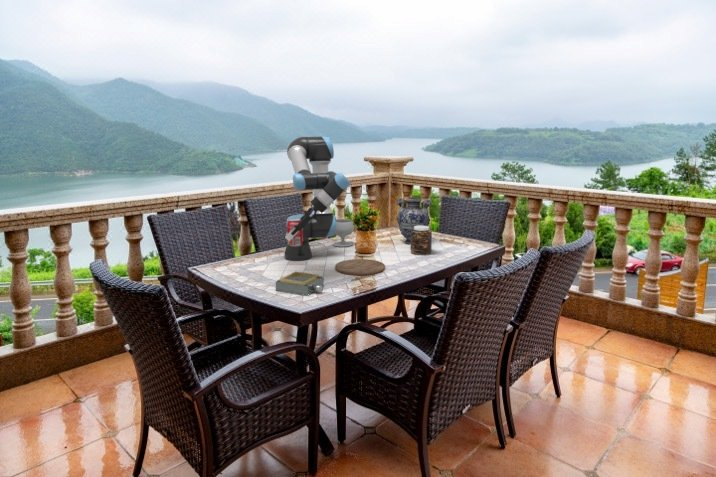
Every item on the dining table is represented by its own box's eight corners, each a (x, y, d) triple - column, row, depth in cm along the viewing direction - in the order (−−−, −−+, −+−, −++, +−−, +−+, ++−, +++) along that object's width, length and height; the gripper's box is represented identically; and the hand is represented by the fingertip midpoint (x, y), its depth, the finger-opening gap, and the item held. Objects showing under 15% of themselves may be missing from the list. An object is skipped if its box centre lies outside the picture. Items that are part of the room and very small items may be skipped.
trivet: (393, 266, 243) (393, 263, 242) (369, 279, 222) (369, 275, 221) (351, 260, 255) (351, 256, 255) (325, 271, 234) (325, 268, 234)
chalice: (332, 242, 295) (331, 218, 292) (354, 242, 295) (354, 218, 292) (330, 247, 282) (329, 222, 278) (353, 247, 281) (353, 222, 278)
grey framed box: (275, 290, 205) (275, 279, 204) (293, 281, 218) (293, 270, 217) (316, 296, 197) (315, 285, 196) (331, 287, 210) (331, 275, 208)
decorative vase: (392, 244, 287) (393, 198, 282) (398, 238, 305) (400, 195, 299) (427, 247, 281) (429, 200, 276) (432, 241, 299) (434, 196, 293)
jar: (430, 250, 274) (431, 224, 271) (431, 255, 263) (432, 229, 259) (410, 250, 275) (410, 224, 272) (410, 255, 264) (411, 228, 261)
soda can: (295, 242, 224) (294, 217, 221) (306, 244, 219) (305, 219, 217) (284, 245, 218) (283, 219, 216) (295, 247, 214) (294, 221, 211)
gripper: (328, 210, 207) (292, 247, 209) (327, 204, 226) (294, 238, 228) (316, 198, 205) (279, 236, 207) (316, 193, 225) (282, 228, 227)
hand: (287, 237), depth 218 cm, fingers closed on soda can, 7 cm apart
